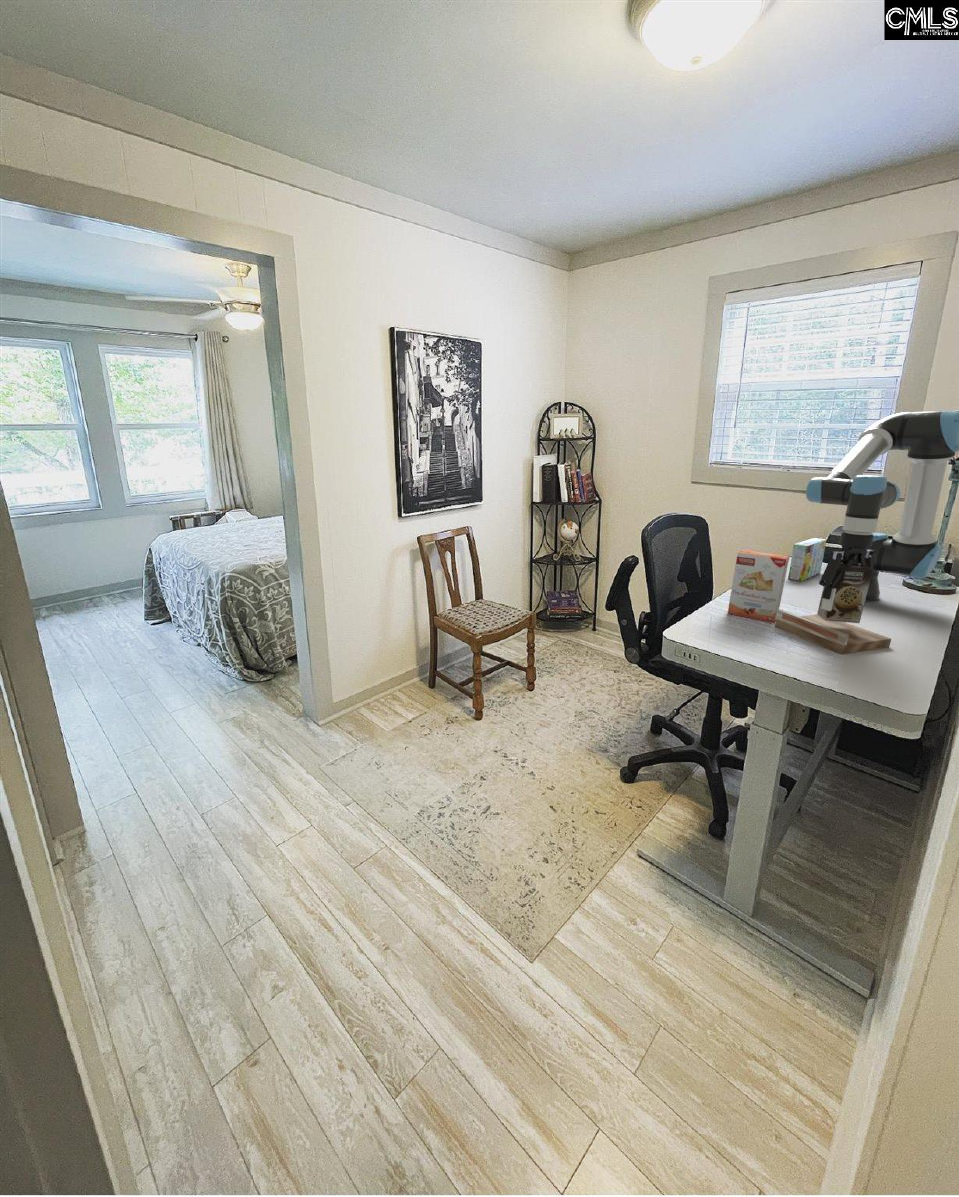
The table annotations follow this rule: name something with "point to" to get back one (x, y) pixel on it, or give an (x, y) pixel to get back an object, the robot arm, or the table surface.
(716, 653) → the table surface
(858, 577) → the cookie box
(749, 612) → the cracker box
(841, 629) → the shelf board
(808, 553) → the snack box
